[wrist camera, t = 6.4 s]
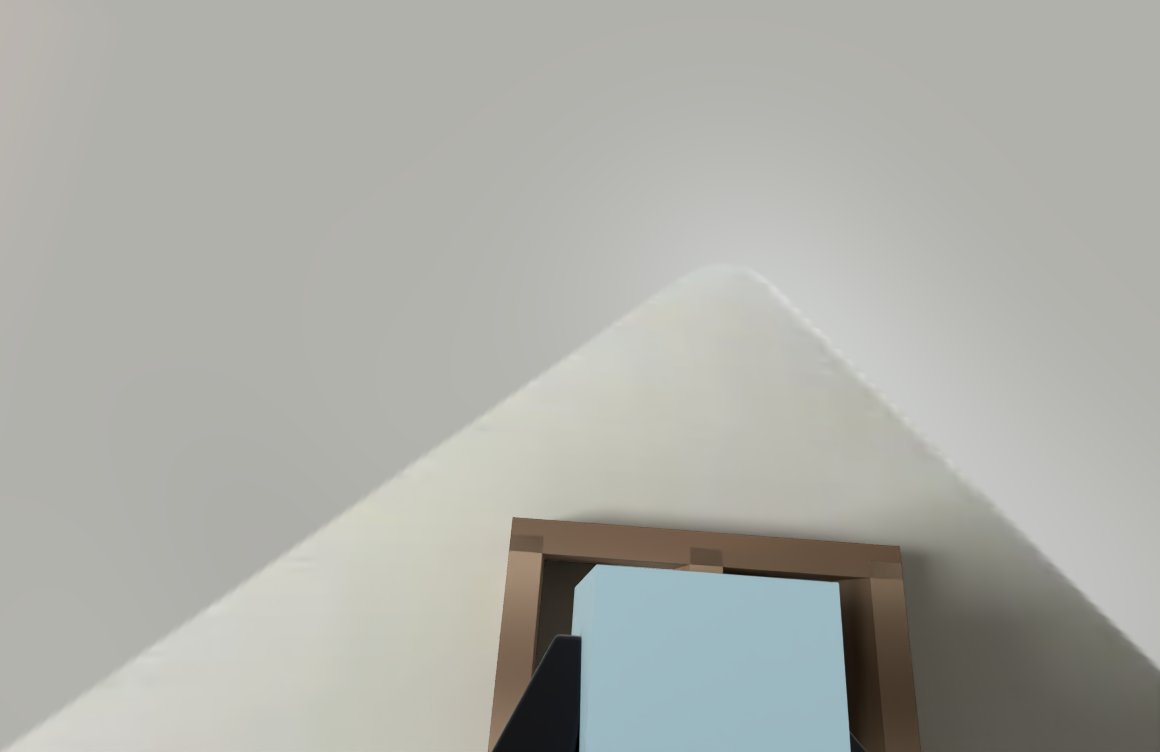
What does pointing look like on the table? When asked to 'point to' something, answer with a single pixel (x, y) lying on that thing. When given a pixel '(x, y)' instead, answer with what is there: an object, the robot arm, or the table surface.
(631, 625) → the pale blue tall box
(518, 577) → the rack
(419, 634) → the table surface
